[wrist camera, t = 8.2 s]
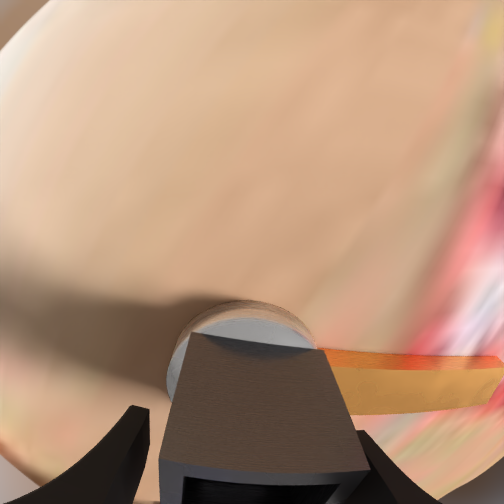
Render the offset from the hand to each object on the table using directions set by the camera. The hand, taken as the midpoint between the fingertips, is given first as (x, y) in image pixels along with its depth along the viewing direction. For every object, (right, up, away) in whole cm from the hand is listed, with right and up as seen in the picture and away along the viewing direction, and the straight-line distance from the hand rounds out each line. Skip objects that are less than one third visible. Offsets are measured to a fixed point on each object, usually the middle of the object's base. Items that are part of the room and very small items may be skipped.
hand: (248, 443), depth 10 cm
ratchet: (+6, 0, +5) cm, 8 cm away
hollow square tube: (0, +1, +3) cm, 3 cm away
